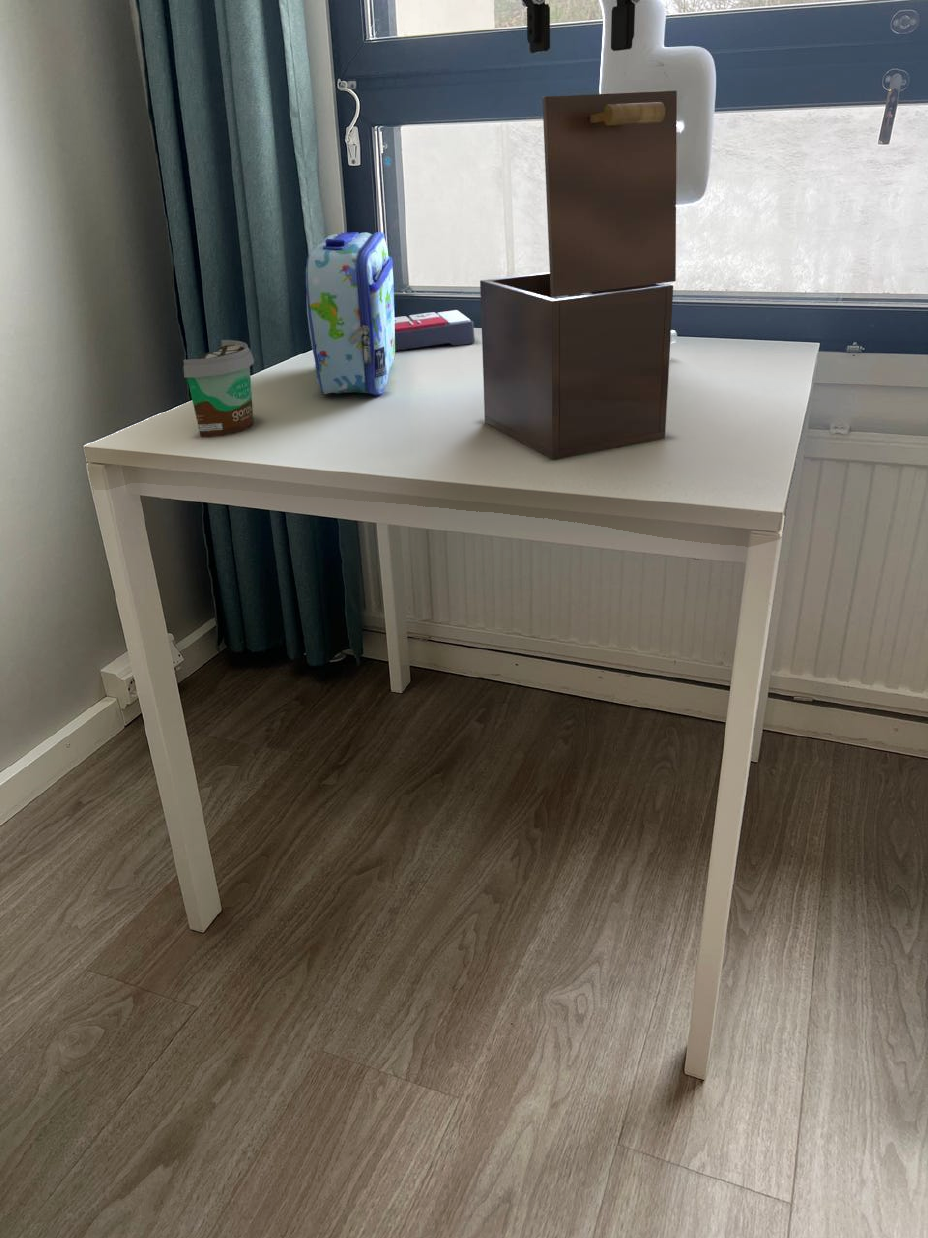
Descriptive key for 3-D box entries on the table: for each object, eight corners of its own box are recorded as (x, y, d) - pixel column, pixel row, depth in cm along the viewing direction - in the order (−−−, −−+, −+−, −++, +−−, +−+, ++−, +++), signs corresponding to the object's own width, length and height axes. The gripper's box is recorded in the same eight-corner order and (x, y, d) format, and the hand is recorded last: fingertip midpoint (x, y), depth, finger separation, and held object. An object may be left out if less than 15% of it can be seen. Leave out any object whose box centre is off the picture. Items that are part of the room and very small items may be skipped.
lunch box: (387, 402, 135) (374, 242, 125) (310, 405, 136) (292, 245, 126) (403, 359, 158) (394, 221, 148) (338, 361, 159) (324, 224, 149)
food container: (240, 441, 122) (228, 360, 117) (195, 440, 123) (181, 360, 118) (276, 413, 133) (266, 338, 128) (234, 412, 134) (223, 338, 129)
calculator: (376, 318, 171) (458, 306, 174) (379, 342, 173) (460, 330, 176) (386, 329, 162) (473, 316, 164) (389, 355, 164) (475, 342, 166)
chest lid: (542, 97, 95) (569, 89, 90) (672, 91, 100) (704, 83, 96) (550, 296, 102) (576, 298, 98) (671, 280, 108) (701, 282, 103)
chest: (484, 422, 125) (479, 280, 117) (587, 404, 130) (589, 267, 122) (552, 460, 110) (552, 300, 102) (665, 438, 116) (673, 285, 107)
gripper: (639, -144, 99) (632, 51, 106) (484, -152, 93) (490, 55, 101) (682, -163, 92) (672, 46, 100) (520, -173, 87) (523, 50, 94)
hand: (581, 50), depth 100 cm, fingers open, 9 cm apart
